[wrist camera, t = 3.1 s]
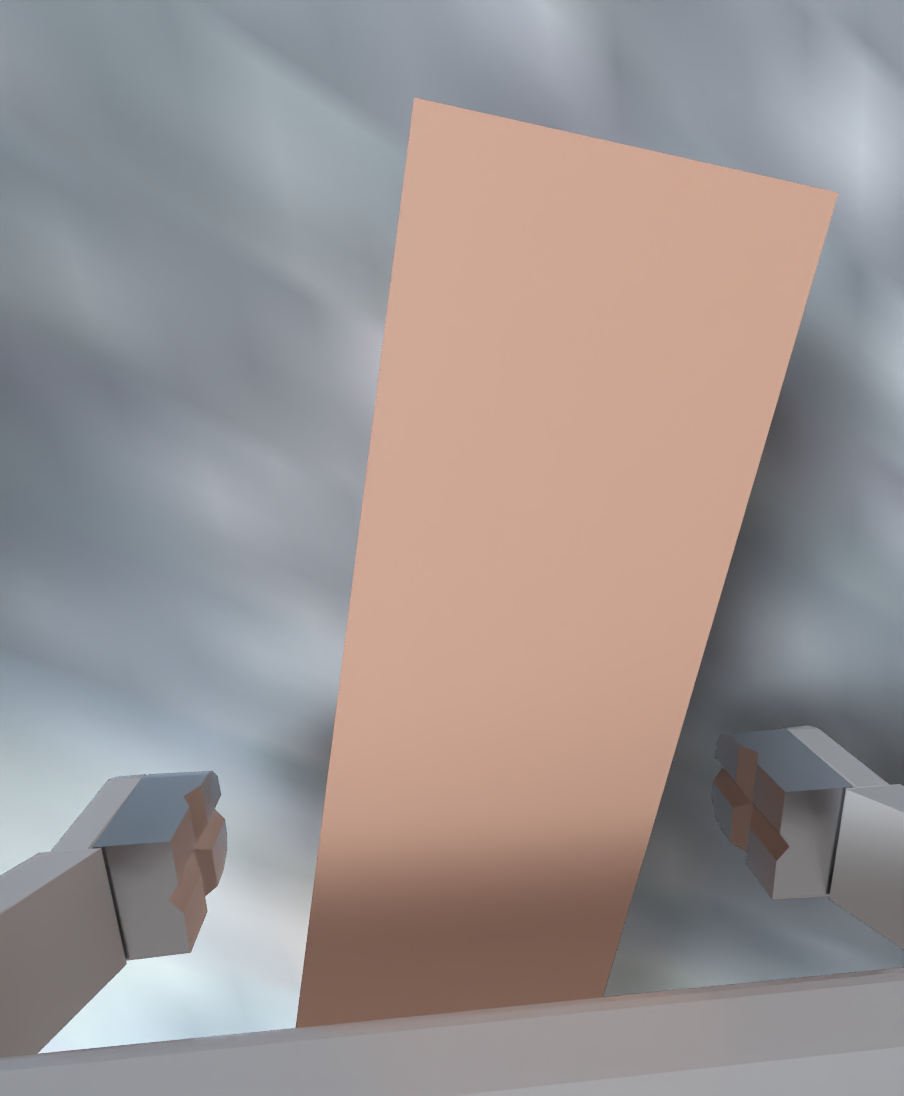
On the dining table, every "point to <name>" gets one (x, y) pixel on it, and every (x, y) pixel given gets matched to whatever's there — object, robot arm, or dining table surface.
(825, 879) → the robot arm
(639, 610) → the beam
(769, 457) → the dining table surface
